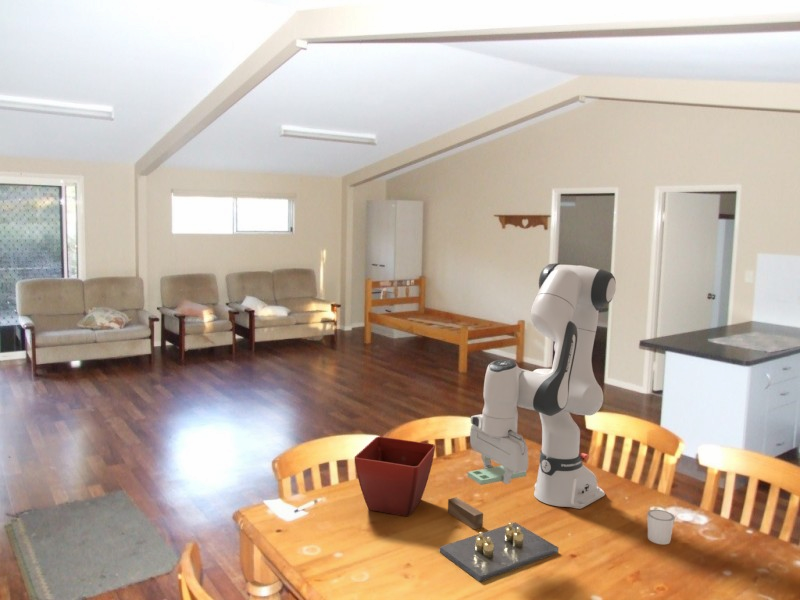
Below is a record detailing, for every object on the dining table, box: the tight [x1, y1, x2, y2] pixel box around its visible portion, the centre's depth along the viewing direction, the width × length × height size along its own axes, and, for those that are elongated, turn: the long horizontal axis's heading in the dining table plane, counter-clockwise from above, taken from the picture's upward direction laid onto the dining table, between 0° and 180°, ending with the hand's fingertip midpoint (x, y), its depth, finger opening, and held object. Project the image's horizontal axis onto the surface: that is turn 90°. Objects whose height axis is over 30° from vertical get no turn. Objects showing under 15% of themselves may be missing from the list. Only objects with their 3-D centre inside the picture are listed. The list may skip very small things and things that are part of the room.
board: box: [466, 465, 527, 486], centre depth 170 cm, size 14×6×1 cm, turn 118°
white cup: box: [646, 509, 675, 545], centre depth 179 cm, size 7×7×7 cm
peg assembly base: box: [439, 521, 559, 583], centre depth 170 cm, size 26×16×6 cm, turn 123°
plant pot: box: [354, 436, 436, 517], centre depth 196 cm, size 19×19×17 cm
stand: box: [447, 496, 484, 530], centre depth 189 cm, size 3×12×4 cm, turn 33°
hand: (496, 477), depth 170 cm, fingers closed on board, 6 cm apart
